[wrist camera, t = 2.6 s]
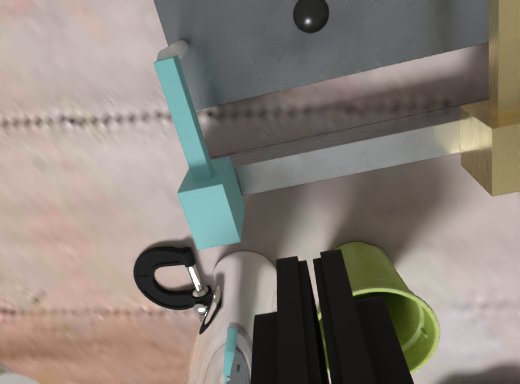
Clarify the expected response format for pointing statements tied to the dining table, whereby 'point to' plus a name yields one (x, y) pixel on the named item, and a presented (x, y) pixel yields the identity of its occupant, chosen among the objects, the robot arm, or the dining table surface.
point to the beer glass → (231, 320)
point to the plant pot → (391, 302)
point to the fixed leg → (496, 108)
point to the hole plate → (308, 40)
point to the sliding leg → (200, 163)
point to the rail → (349, 151)
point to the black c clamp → (165, 298)
